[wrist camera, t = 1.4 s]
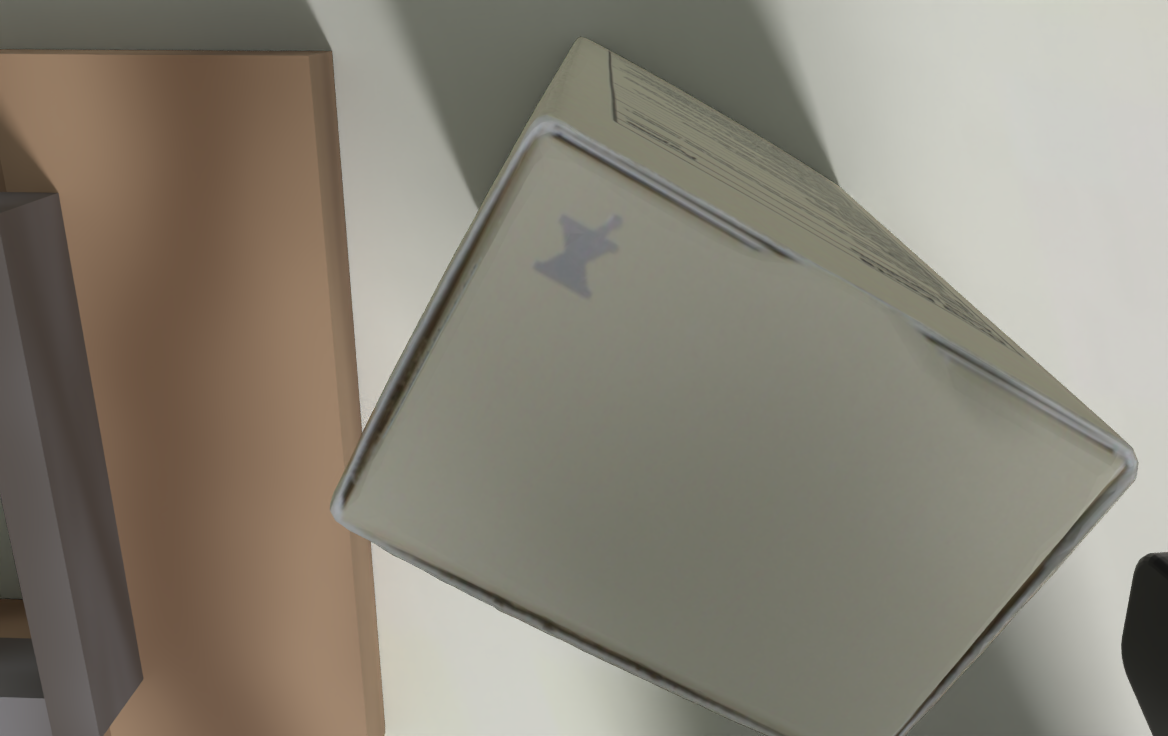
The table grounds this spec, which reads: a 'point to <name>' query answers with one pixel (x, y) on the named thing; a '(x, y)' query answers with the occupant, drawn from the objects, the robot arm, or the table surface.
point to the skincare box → (722, 424)
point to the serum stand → (178, 399)
